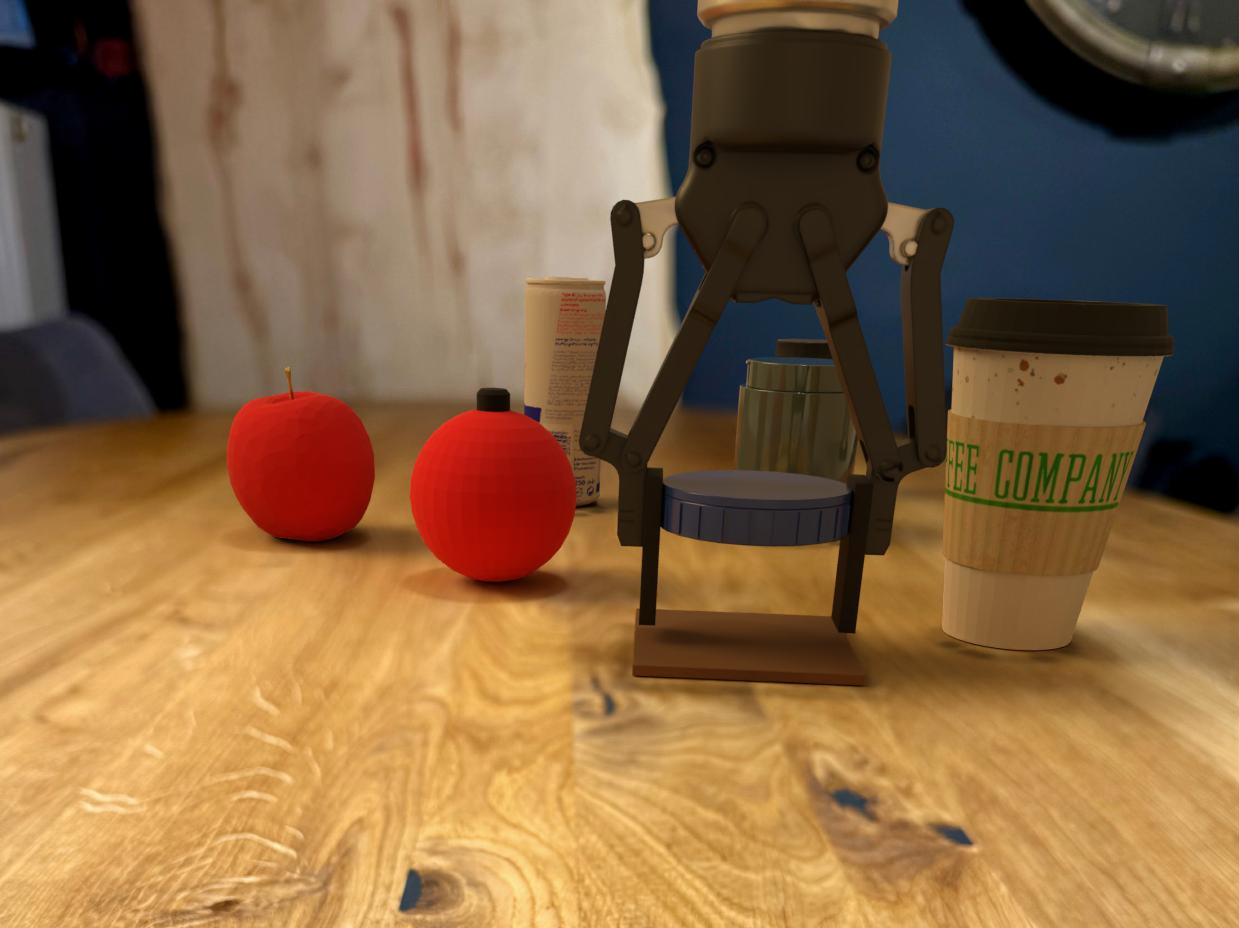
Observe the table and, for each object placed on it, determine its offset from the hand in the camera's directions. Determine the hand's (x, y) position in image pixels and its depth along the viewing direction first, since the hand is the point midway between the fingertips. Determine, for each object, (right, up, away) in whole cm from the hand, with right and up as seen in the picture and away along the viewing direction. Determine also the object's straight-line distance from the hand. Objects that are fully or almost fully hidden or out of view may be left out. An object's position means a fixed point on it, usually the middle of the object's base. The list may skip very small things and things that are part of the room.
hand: (744, 621), depth 59 cm
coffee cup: (+14, 0, +5) cm, 14 cm away
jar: (+7, +12, +28) cm, 31 cm away
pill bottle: (+10, +19, +43) cm, 49 cm away
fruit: (-25, +10, +21) cm, 34 cm away
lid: (0, +5, -3) cm, 6 cm away
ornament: (-12, +5, +12) cm, 18 cm away
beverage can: (-9, +16, +35) cm, 40 cm away
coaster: (0, -1, +1) cm, 1 cm away
